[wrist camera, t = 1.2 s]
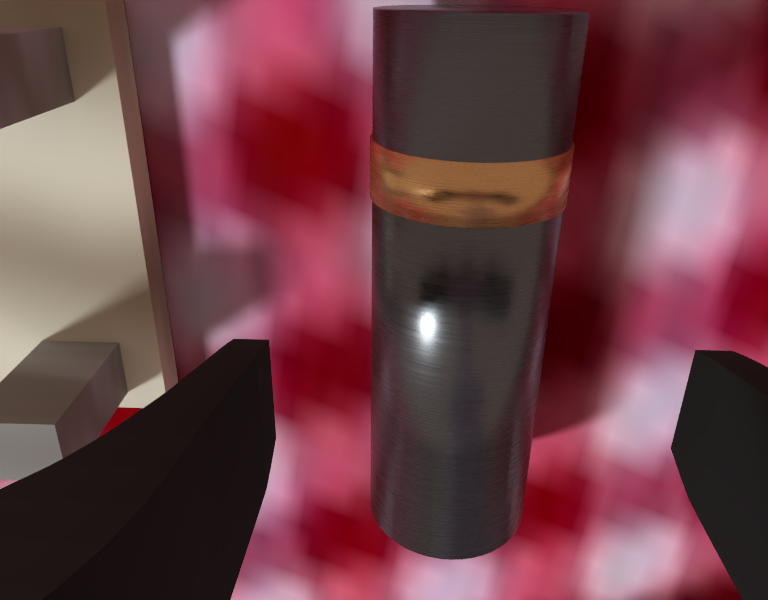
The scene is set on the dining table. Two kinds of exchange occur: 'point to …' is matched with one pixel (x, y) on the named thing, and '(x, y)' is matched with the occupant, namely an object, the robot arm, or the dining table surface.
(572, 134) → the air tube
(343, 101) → the dining table surface
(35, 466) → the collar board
